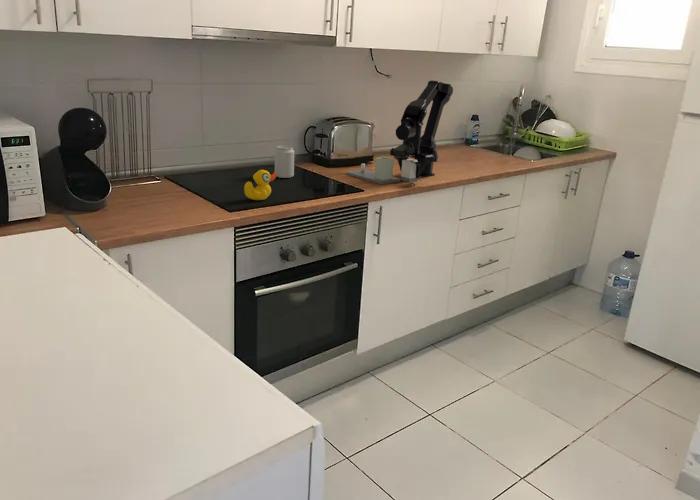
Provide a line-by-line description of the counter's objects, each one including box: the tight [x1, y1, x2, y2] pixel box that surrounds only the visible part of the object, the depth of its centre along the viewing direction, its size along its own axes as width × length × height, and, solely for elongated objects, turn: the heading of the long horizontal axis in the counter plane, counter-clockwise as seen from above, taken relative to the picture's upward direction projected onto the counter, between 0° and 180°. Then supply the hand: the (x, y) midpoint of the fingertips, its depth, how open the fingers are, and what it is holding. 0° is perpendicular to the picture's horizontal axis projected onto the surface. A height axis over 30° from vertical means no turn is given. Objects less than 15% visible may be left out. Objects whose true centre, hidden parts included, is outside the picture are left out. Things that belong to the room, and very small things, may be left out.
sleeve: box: [400, 158, 419, 183], centre depth 233 cm, size 5×5×8 cm
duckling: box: [243, 169, 277, 201], centre depth 193 cm, size 11×5×10 cm, turn 125°
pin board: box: [345, 156, 401, 185], centre depth 234 cm, size 11×20×9 cm, turn 42°
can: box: [274, 145, 295, 179], centre depth 226 cm, size 8×8×12 cm
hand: (409, 176), depth 234 cm, fingers open, 7 cm apart
